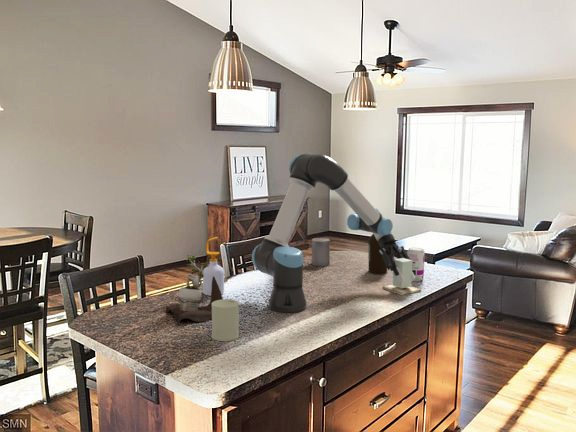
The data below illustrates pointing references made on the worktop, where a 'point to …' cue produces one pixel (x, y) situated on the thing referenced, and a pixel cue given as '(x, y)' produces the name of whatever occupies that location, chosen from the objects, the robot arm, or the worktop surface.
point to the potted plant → (194, 297)
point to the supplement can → (417, 262)
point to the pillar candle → (320, 251)
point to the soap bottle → (212, 272)
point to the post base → (401, 289)
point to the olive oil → (375, 257)
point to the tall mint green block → (403, 272)
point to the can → (225, 320)
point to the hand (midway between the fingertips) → (407, 280)
